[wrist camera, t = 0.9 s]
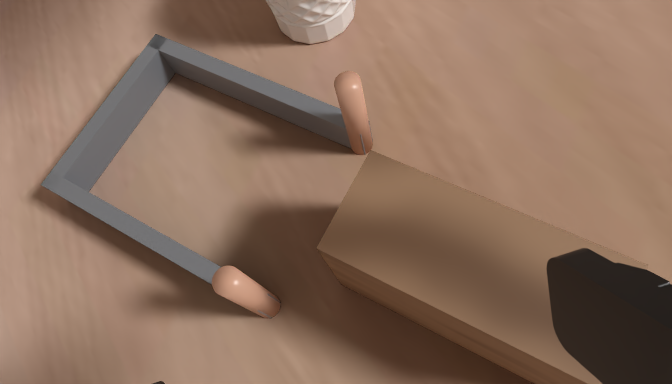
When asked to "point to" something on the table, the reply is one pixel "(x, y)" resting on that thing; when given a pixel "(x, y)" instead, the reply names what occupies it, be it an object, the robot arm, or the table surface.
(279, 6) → the white cup
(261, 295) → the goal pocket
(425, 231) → the walnut block
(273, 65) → the table surface
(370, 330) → the table surface
